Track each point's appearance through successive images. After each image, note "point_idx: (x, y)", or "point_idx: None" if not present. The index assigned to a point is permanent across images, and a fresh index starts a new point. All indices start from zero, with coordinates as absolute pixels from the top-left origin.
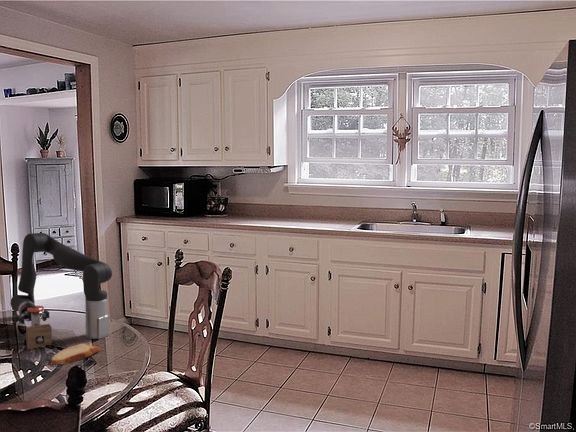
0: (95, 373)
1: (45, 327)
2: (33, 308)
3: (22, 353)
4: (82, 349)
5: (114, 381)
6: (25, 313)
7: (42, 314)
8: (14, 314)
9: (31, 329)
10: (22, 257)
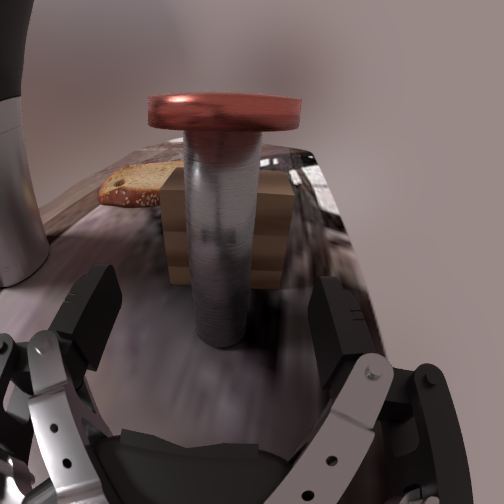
0: (180, 152)
1: None
2: (246, 93)
3: (295, 238)
4: (142, 179)
5: (174, 143)
6: (309, 457)
7: (70, 331)
8: (464, 492)
9: (268, 173)
10: None
